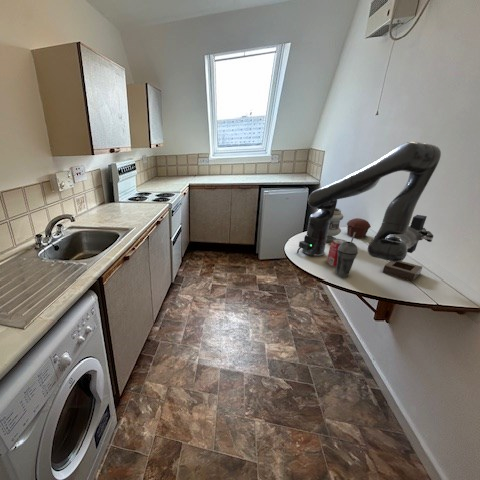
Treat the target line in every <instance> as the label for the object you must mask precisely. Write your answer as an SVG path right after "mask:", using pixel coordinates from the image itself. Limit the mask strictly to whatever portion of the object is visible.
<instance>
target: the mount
mask: <svg viewBox="0 0 480 480" xmlns="http://www.w3.org/2000/svg"><path fill="white" fill-rule="evenodd" d="M422 270H423V266H422V265H418V264H413V263H410V262H407V261H404V260H402V261H400V262H392V261H388V262H387V263H386V264H384V266H383V269H382V273H384V274H386V275H390V276H393V277H397V278H401V279H404V280H407V281H410V282H413V281H414V280H416V279H417V277H419V276H420V275H421V272H422Z"/></svg>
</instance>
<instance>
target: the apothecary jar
mask: <svg viewBox="0 0 480 480" xmlns="http://www.w3.org/2000/svg"><path fill="white" fill-rule="evenodd" d="M342 220H344V215H343V213H342V209H341V208H337V207H336V208H335V212H334V215H333V218H332V219H331V221H330V226H329V231H328V235H327V240H326V243H332V242H333V240H334V239H337V238H336V237H335V236H338V235H340V234H341V232H342V230H341V228H340V223H341V221H342Z"/></svg>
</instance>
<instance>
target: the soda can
mask: <svg viewBox="0 0 480 480" xmlns="http://www.w3.org/2000/svg"><path fill="white" fill-rule="evenodd" d="M343 242H348V241H347V240H345V239H341V238H336V239H334V240H333V242H330V245H329V249H328V254H327V261H326V262H327V264H329V266H331V267H335V268H336V265H337V257H338V250H337V249H338V247H339V245H340V244H342V243H343Z"/></svg>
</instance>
